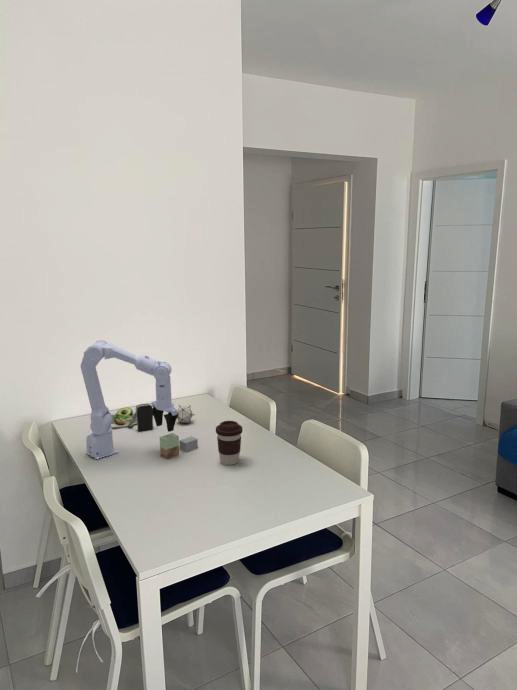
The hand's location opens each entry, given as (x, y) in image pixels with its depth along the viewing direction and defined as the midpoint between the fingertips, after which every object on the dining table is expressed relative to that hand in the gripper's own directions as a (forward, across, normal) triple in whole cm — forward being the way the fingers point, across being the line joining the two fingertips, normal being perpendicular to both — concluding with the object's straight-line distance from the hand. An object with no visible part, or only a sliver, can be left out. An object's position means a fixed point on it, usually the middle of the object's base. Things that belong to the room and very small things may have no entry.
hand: (164, 428), depth 204 cm
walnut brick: (+10, -3, 0) cm, 11 cm away
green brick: (+6, -3, 0) cm, 7 cm away
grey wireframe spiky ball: (+10, +21, -25) cm, 34 cm away
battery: (+11, +27, -8) cm, 30 cm away
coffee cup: (+10, -23, -13) cm, 28 cm away
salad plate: (+11, +43, -6) cm, 45 cm away
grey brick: (+10, -3, -9) cm, 14 cm away
